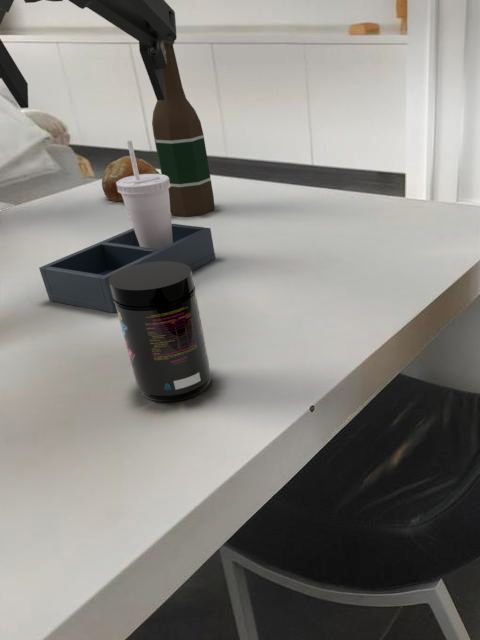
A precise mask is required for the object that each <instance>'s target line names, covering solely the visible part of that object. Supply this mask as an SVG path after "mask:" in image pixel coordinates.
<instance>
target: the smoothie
mask: <svg viewBox="0 0 480 640" xmlns="http://www.w3.org/2000/svg"><path fill="white" fill-rule="evenodd" d="M126 143H127V148H128V152H129V156H130V157H131V162H132V166H133V171H134V176H129V177H125V178H122V179H120V180H118V181H117V182H116V185H117V189H118V192H119V193H121V195H122V197H123V200H124V202H123V203H124V206H125V208H126V211H127V214H128V217H129V220H130V222H131V225H132V228H134V231H135V234H136V236H137V239H138V242H139V245H140V247H145V248H152V249H161V248H163V247H166V246H168V245H170V244H172V243H173V237H172V224H173V223H172V214H171V212H170V199H169V188H170V186H171V184H170V181H169V177H168V176H166V175H162V174H161V173H160V174H141V175H139V172H138V167H137V163H136V158H137V157H136V154H135V150H134V145H133V141H132V140H127V141H126ZM135 157H136V158H135Z"/></svg>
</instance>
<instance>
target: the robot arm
mask: <svg viewBox="0 0 480 640" xmlns="http://www.w3.org/2000/svg"><path fill="white" fill-rule="evenodd" d="M23 1H24V3H25V4H31V3H37V2H40V1H42V0H23ZM46 1H47V2H53V3H54V2H64V0H46ZM14 2H15V0H0V25H1V24H2V22H3V20H4V17H5V15H6V13H9V12H10V10H11V8H12V6H13V4H14ZM68 2H71V3H72V4H73V5H74V6H76V7H77V8H80V9H81V10H83V9H85V8H87V9H89V10H90V11H91V12H93V13H95V14H96V15H98V16H99V17H101V18H102V19H104V20H106V21H107V22H109V23H110V24H112V25H113V26H115V27H116V28H118V29H120V30H121V31H122V32H124V33H125V34H127V35H129V36H130V37H132V38H134V39H135V40H137V41H138V49H139V54H140V57H141V59H142V62H143V66H144V68H145V70H146V74H147V76H148V79H149V82H150V84H151V87H152V90H153V93H154V95H155V98H156V101H157V100H165V97H164V81H163V74H162V71H161V69H166V66H167V62H166V51H165V48H164V44H163V40H166V41H169V42H173V41H174V42H175V41H176V40H177V37H178V36H177V23H176V22H177V21H176V12H175V10H174V9H173V8H172V7H171V6H170V5H169V3H167V2H166V1H165V0H68ZM0 79H1V80H2V82H3V83H4V85H5V86H6V88H7V89H8V91H9V92H10V94H11V96H12V97H13V99H14V101H15V102H16V104H17V105H18V106H19V108H20V109H29V84H28V82H27V80H26V78H25V77H24V75H23V74H22V72H21V70H20V68H19V67H18V66H17V64H16V62H15V60H14V59H13V57H12V55H11V54H10V52H9V50H8V49H7V47H6V46H5V44H4V42H3V40H2V39H1V38H0Z"/></svg>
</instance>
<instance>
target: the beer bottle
mask: <svg viewBox="0 0 480 640" xmlns="http://www.w3.org/2000/svg"><path fill="white" fill-rule="evenodd" d="M175 43H176V42H175V41H173V42H169V41H166V40H163V44H164V48H165V51H166V62H167V66H166V69H161V71H162V74H163V81H164V97H165V100H157V99H156V103H155V106H154V108H153V111H152V119H151V120H152V121H151V126H152V134H153V140H154V145H155V149H156V154H157V160H158V164H159V169H160V174H162V175H166V176H168V177H169V181H170V184H171V186H170V188H169V199H170V212H171V216H176V217H177V216H178V217H185V218H187V217H195V216H201V215H206V214H207V213H211V212H213V211H214V210H215V207H216V206H215V197H214V191H213V183H212V178H211V173H210V165H209V160H208V154H207V148H206V141H205V136H204V131H203V127H202V122H201V119H200V117H199V116H198V114H197V111H196V109H195V107H193V105H192V104H191V103H190V101H189V100H188V99H187V95H186V93H185V91H184V88H183V84H182V79H181V74H180V71H179V66H178V62H177V57H176V53H175V48H174V44H175Z"/></svg>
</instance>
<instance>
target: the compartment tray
mask: <svg viewBox="0 0 480 640" xmlns="http://www.w3.org/2000/svg"><path fill="white" fill-rule="evenodd" d="M171 224H172V237H173V243H172V244H170V245H168V246H166V247H163V248H161V249H152V248H145V247H140V245H139V242H138V239H137V236H136V234H135V231H134V228H133V227H132V228H129V229H128V230H125V231H123V232H121V233H118V234H116V235H113V236H110V237H108V238H107V239H104V240H101V241H99V242H97V243H94V244H92V245H89V246H87V247H84V248H82V249H80V250H77V251H75V252H73V253H70V254H68V255H66V256H63V257H61V258H59V259H55V260H54V261H51V262H50V263H47V264H44V265H41V266H40V267H38V270H39V273H40V276H41V278H42V282H43V284H44V287H45V290H46V294H47V297H48V301H50V302H54V303H55V302H56V303H61V304H65V305H72V306H76V307H82V308H86V309H92V310H98V311H103V312H108V313H117V309H116V306H115V303H114V301H113V296H112V292H111V288H110V285H109V278H110V277H111V276H112V275H113V274H114V273H116V272H117V271H119V270H122V269H124V268H127V267H130V266H133V265H137V264H142V263H149V262H160V261H169V262H178V263H183V264H186V265H188V266H189V267H190V268H191V271H192V272H193V271H195V270H197V269H199V268H201V267H202V266H204V265H207V264H209V263H210V262H213V260H216V253H215V247H214V241H213V236H212V229H211V228H210V227H206V226H205V227H204V226H197V225H196V226H195V225H187V224H179V223H171Z"/></svg>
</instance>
